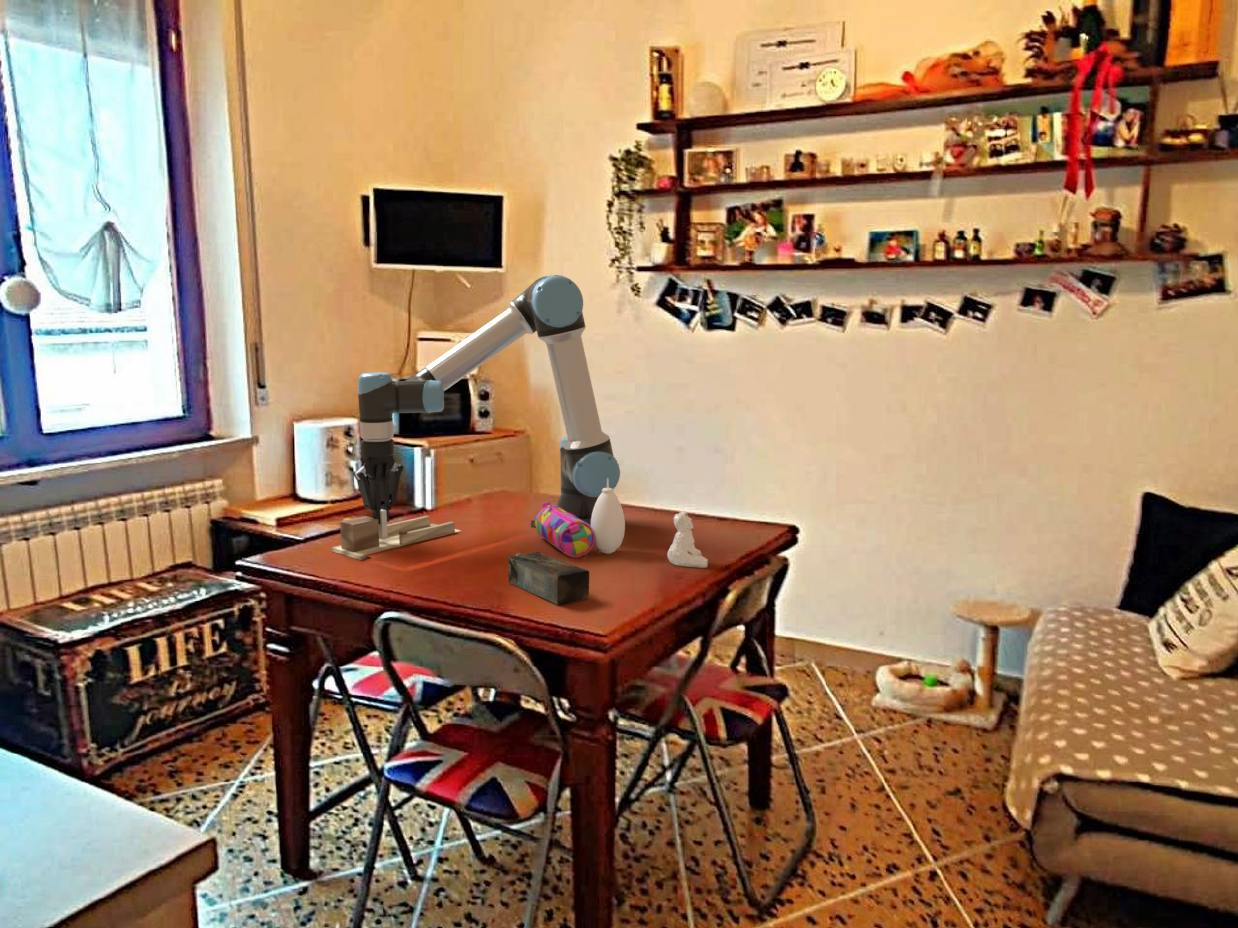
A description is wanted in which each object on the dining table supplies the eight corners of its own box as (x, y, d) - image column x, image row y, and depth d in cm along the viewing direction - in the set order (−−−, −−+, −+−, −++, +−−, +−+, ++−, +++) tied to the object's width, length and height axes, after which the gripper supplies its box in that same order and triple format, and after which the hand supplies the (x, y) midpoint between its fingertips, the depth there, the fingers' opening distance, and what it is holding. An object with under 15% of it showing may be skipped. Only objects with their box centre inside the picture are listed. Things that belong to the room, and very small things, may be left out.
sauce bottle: (605, 546, 227) (605, 472, 224) (631, 552, 222) (631, 476, 219) (584, 553, 221) (583, 477, 218) (610, 559, 216) (610, 482, 213)
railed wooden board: (461, 534, 238) (461, 518, 237) (360, 560, 215) (359, 542, 214) (432, 527, 245) (432, 511, 244) (331, 551, 222) (330, 534, 222)
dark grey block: (539, 576, 204) (538, 547, 203) (591, 600, 189) (591, 568, 188) (507, 583, 199) (506, 553, 198) (558, 608, 184) (558, 575, 183)
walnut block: (379, 546, 223) (378, 519, 222) (354, 552, 218) (352, 524, 217) (366, 542, 227) (365, 516, 225) (341, 548, 221) (340, 521, 220)
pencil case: (529, 538, 235) (528, 503, 233) (565, 534, 238) (564, 500, 237) (560, 561, 215) (560, 523, 213) (598, 557, 219) (598, 519, 217)
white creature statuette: (709, 568, 210) (710, 515, 207) (671, 570, 208) (672, 517, 206) (699, 556, 219) (700, 506, 217) (662, 558, 217) (663, 507, 215)
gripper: (390, 434, 229) (394, 528, 233) (344, 440, 219) (349, 539, 224) (409, 437, 224) (413, 533, 229) (363, 444, 215) (368, 544, 219)
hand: (381, 536), depth 226 cm, fingers closed
